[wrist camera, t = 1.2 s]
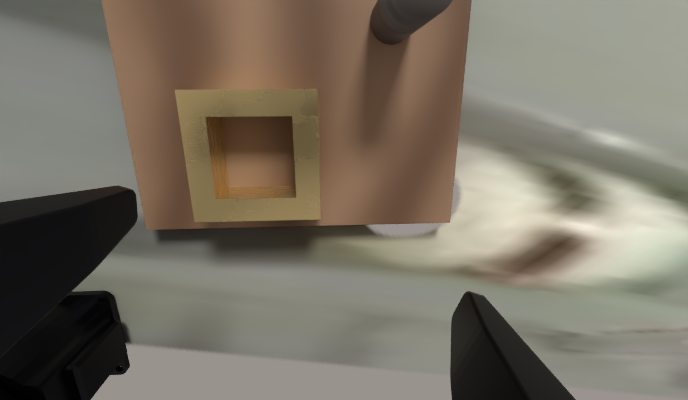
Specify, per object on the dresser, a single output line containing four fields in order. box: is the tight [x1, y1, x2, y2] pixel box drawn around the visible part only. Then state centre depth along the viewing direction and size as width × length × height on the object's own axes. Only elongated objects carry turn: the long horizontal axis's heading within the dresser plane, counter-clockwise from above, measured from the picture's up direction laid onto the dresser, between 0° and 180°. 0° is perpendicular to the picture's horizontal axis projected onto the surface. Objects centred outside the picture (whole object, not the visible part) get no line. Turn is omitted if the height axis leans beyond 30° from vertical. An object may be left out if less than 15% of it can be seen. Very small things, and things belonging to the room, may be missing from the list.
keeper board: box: [102, 0, 471, 230], centre depth 16 cm, size 18×14×8 cm
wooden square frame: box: [175, 89, 321, 222], centre depth 17 cm, size 6×6×2 cm
